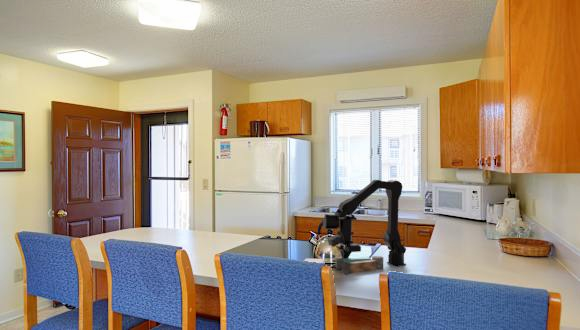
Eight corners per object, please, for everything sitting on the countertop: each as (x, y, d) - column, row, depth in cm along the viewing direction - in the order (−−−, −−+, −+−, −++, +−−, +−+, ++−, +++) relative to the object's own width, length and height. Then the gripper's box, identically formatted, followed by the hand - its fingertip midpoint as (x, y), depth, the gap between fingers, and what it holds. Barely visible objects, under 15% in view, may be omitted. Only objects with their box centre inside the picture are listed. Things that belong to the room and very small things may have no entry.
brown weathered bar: (368, 265, 175) (368, 257, 175) (371, 267, 172) (371, 258, 172) (335, 267, 173) (335, 258, 173) (337, 269, 170) (337, 260, 170)
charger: (300, 278, 158) (304, 268, 173) (322, 279, 157) (324, 269, 172) (300, 267, 158) (304, 258, 173) (322, 268, 157) (324, 259, 172)
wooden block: (379, 266, 176) (379, 255, 176) (386, 269, 170) (386, 258, 170) (338, 271, 168) (338, 260, 168) (345, 274, 162) (344, 263, 162)
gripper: (321, 226, 181) (319, 258, 181) (340, 233, 163) (338, 269, 163) (341, 225, 185) (340, 257, 185) (362, 232, 167) (360, 267, 167)
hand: (344, 262), depth 175 cm, fingers closed
